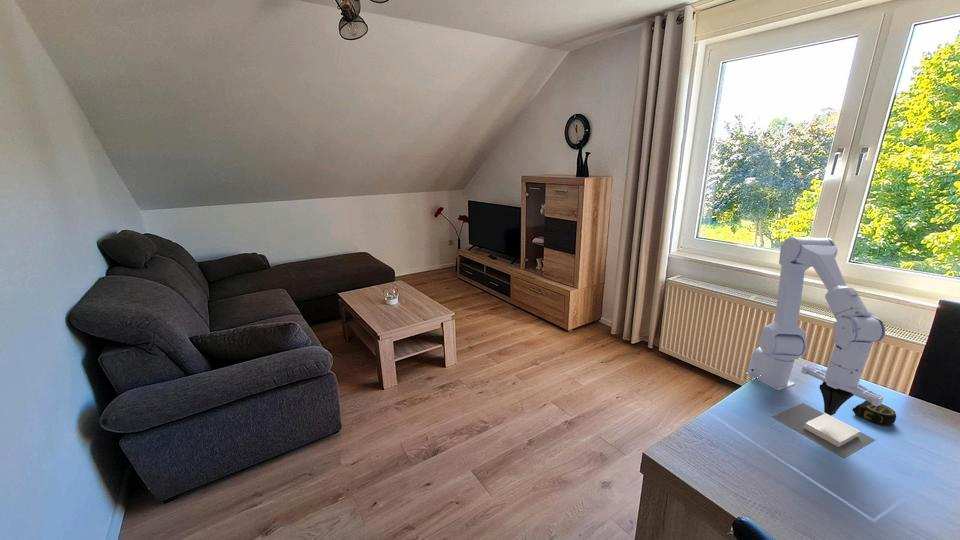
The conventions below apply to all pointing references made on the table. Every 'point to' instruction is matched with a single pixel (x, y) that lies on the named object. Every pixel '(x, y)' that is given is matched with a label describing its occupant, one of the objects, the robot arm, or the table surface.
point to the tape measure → (875, 413)
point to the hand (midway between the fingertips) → (829, 412)
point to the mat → (797, 420)
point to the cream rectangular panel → (832, 430)
